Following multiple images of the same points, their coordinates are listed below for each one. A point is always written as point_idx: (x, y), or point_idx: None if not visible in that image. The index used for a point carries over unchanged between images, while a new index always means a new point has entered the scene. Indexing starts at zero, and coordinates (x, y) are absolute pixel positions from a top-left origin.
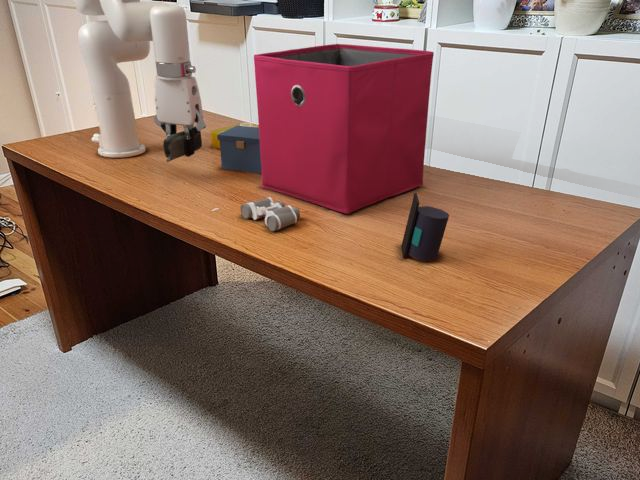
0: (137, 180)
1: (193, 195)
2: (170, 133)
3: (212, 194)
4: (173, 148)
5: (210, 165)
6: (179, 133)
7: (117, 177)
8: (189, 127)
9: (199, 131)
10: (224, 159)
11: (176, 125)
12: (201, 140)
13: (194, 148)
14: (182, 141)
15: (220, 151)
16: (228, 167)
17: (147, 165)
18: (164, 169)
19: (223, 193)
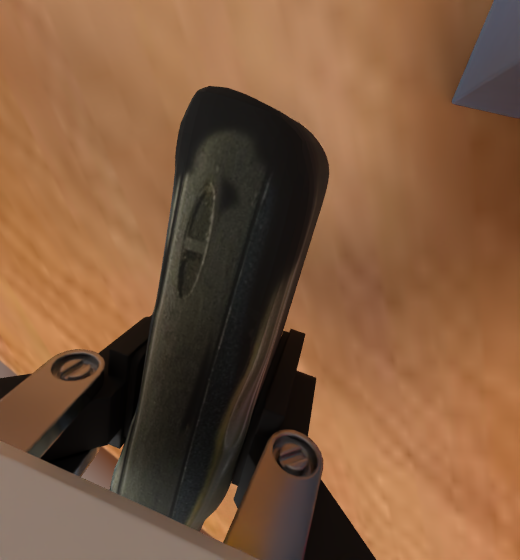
0: (103, 324)
1: (359, 492)
2: (87, 465)
3: (436, 495)
4: (204, 520)
5: (355, 30)
6: (159, 475)
7: (27, 291)
8: (236, 535)
9: (309, 213)
10: (504, 96)
11: (47, 431)
12: (327, 173)
13: (314, 390)
14: (228, 488)
15: (496, 76)
16: (511, 114)
17: (32, 107)
18: (131, 166)
19: (487, 493)
